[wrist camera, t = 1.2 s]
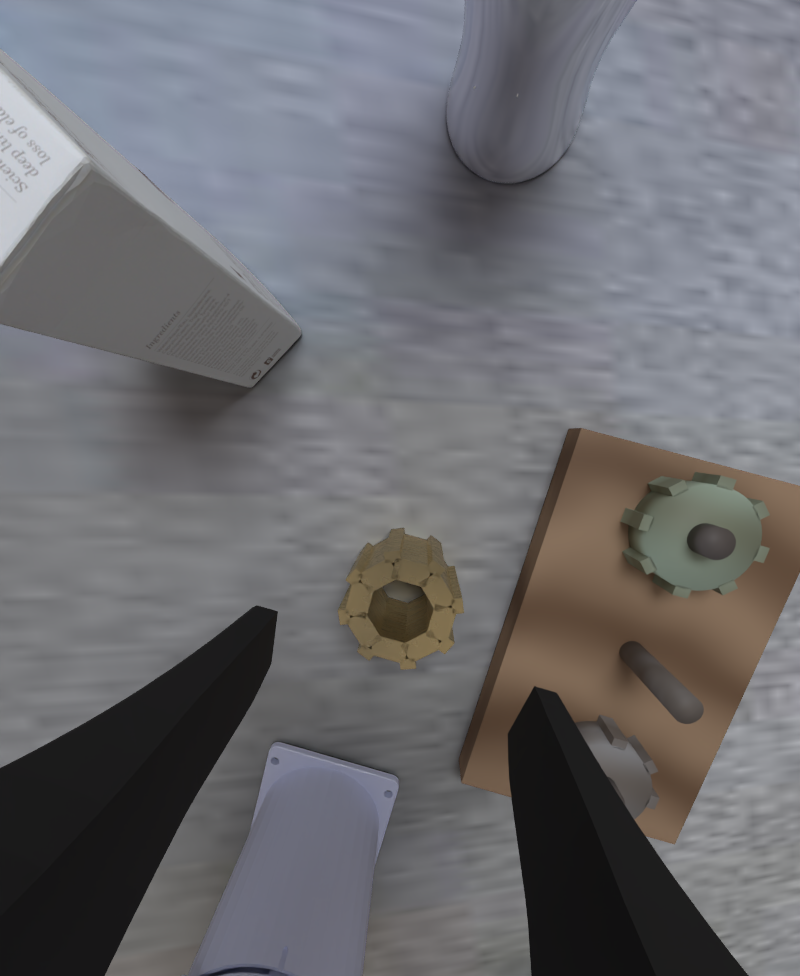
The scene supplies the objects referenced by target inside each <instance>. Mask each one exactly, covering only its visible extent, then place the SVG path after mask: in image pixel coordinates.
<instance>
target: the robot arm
mask: <svg viewBox="0 0 800 976" xmlns="http://www.w3.org/2000/svg"><path fill="white" fill-rule="evenodd" d="M277 614H278V611H274V610H271V609H267V608H264V607H260V606H255V607H252V608H251V609H250V610H249V611H248V612H246V613H245V614H244V615H243V616H241V617H240V618H239V619H238V620H236V621H235V622H234V623H233V624H231V625H230V626H229V627H228V628H226V629H225V630H224V631H222V632H221V633H220V634H218V635H217V636H216V637H215V638H213V639H212V640H211V641H209V642H208V643H207V644H205V645H204V646H202V647H201V648H200V649H198V650H197V651H196V652H194V653H193V654H191V655H190V656H189V657H187V658H186V659H185V660H183V661H182V662H180V663H179V664H178V665H176V666H175V667H173V668H172V669H170V670H169V671H167V672H166V673H164V674H163V675H161V676H160V677H158V678H157V679H155V680H154V681H152V682H151V683H149V684H148V685H146V686H145V687H143V688H142V689H140V690H139V691H137V692H135V693H134V694H132V695H131V696H129V697H128V698H126V699H124V700H123V701H121V702H119V703H118V704H116V705H115V706H113V707H111V708H110V709H108V710H106V711H105V712H103V713H101V714H99V715H98V716H96V717H94V718H93V719H91V720H89V721H87V722H86V723H84V724H82V725H80V726H79V727H77V728H75V729H73V730H71V731H70V732H68V733H66V734H64V735H62V736H60V737H59V738H57V739H55V740H53V741H51V742H49V743H48V744H46V745H44V746H42V747H40V748H38V749H37V750H35V751H33V752H31V753H29V754H27V755H25V756H23V757H21V758H19V759H17V760H15V761H13V762H11V763H10V764H8V765H6V766H3V767H1V768H0V976H105V973H106V971H107V969H108V967H109V965H110V963H111V961H112V959H113V957H114V955H115V953H116V951H117V949H118V947H119V945H120V943H121V941H122V939H123V936H124V934H125V932H126V930H127V928H128V926H129V924H130V922H131V920H132V918H133V916H134V914H135V912H136V910H137V908H138V906H139V904H140V902H141V900H142V898H143V896H144V894H145V892H146V890H147V888H148V886H149V884H150V882H151V880H152V878H153V876H154V874H155V872H156V870H157V868H158V866H159V864H160V862H161V861H162V859H163V857H164V855H165V853H166V851H167V849H168V847H169V845H170V843H171V841H172V839H173V837H174V835H175V833H176V831H177V829H178V828H179V826H180V824H181V822H182V820H183V818H184V816H185V814H186V812H187V811H188V809H189V807H190V805H191V804H192V802H193V800H194V798H195V796H196V795H197V793H198V791H199V790H200V788H201V786H202V785H203V783H204V781H205V780H206V778H207V777H208V775H209V773H210V772H211V770H212V768H213V767H214V765H215V763H216V762H217V760H218V758H219V757H220V755H221V754H222V752H223V750H224V749H225V747H226V745H227V744H228V742H229V740H230V739H231V737H232V736H233V734H234V732H235V731H236V729H237V727H238V726H239V724H240V722H241V721H242V719H243V717H244V716H245V714H246V712H247V711H248V709H249V707H250V706H251V704H252V702H253V700H254V698H255V696H256V694H257V692H258V690H259V688H260V686H261V684H262V682H263V680H264V678H265V676H266V674H267V671H268V669H269V667H270V665H271V661H272V653H273V645H274V637H275V629H276V621H277ZM274 757H275V758H278V759H275V758H274ZM508 766H509V782H510V790H511V797H512V805H513V812H514V820H515V827H516V834H517V841H518V848H519V855H520V862H521V870H522V877H523V884H524V891H525V899H526V908H527V917H528V928H529V943H530V958H531V973H532V976H748V975H747V973H746V972H745V971H744V970H743V968H742V967H741V966H740V965H739V963H738V962H737V961H736V960H735V958H734V957H733V956H732V955H731V953H730V952H729V951H728V949H727V948H726V947H725V945H724V944H723V943H722V942H721V940H720V939H719V938H718V936H717V935H716V934H715V932H714V931H713V930H712V929H711V927H710V926H709V925H708V923H707V922H706V921H705V919H704V918H703V916H702V915H701V914H700V912H699V911H698V910H697V908H696V907H695V906H694V904H693V903H692V902H691V900H690V899H689V897H688V896H687V895H686V893H685V892H684V891H683V889H682V888H681V887H680V885H679V884H678V882H677V881H676V880H675V878H674V877H673V876H672V874H671V873H670V871H669V870H668V868H667V867H666V866H665V864H664V863H663V861H662V860H661V859H660V857H659V856H658V854H657V853H656V851H655V850H654V848H653V847H652V845H651V844H650V842H649V841H648V839H647V838H646V836H645V835H644V833H643V832H642V830H641V829H640V827H639V826H638V824H637V823H636V821H635V820H634V818H633V817H632V815H631V814H630V812H629V811H628V809H627V808H626V806H625V805H624V803H623V801H622V800H621V798H620V797H619V795H618V794H617V792H616V790H615V789H614V787H613V786H612V784H611V782H610V781H609V779H608V778H607V776H606V774H605V773H604V771H603V769H602V768H601V766H600V764H599V763H598V761H597V760H596V758H595V756H594V755H593V753H592V751H591V750H590V748H589V746H588V744H587V743H586V741H585V739H584V738H583V736H582V734H581V733H580V731H579V729H578V728H577V726H576V724H575V722H574V721H573V719H572V717H571V716H570V714H569V712H568V711H567V709H566V707H565V705H564V704H563V702H562V700H561V699H560V697H559V695H558V694H557V693H556V692H553V691H549V690H546V689H543V688H539V687H536V686H534V688H533V689H532V691H531V693H530V695H529V697H528V698H527V700H526V702H525V704H524V705H523V707H522V709H521V711H520V713H519V714H518V716H517V718H516V720H515V721H514V723H513V725H512V727H511V729H510V730H509V732H508ZM398 789H399V779H398V778H397V777H396V776H395V775H392V774H389V773H385V772H382V771H378V770H375V769H372V768H368V767H365V766H361V765H358V764H354V763H351V762H347V761H344V760H340V759H337V758H334V757H330V756H327V755H323V754H320V753H316V752H313V751H309V750H306V749H302V748H299V747H295V746H292V745H289V744H285V743H282V742H275V743H273V744H272V746H271V748H270V750H269V753H268V757H267V761H266V766H265V770H264V774H263V778H262V783H261V787H260V791H259V795H258V799H257V804H256V808H255V812H254V816H253V820H252V825H251V829H250V833H249V835H248V838H247V840H246V842H245V844H244V847H243V849H242V851H241V854H240V856H239V858H238V860H237V863H236V865H235V867H234V870H233V872H232V874H231V877H230V879H229V881H228V883H227V886H226V888H225V890H224V893H223V895H222V897H221V900H220V902H219V904H218V906H217V909H216V911H215V913H214V916H213V918H212V920H211V923H210V925H209V927H208V929H207V932H206V934H205V936H204V939H203V941H202V943H201V945H200V948H199V950H198V952H197V955H196V957H195V959H194V962H193V964H192V966H191V968H190V971H189V973H188V975H187V976H363V967H364V958H365V949H366V940H367V931H368V922H369V913H370V904H371V895H372V886H373V877H374V868H375V864H376V861H377V858H378V854H379V851H380V848H381V845H382V841H383V838H384V835H385V832H386V828H387V825H388V822H389V819H390V815H391V812H392V809H393V806H394V802H395V799H396V796H397V793H398ZM387 790H389V791H390V792H388V791H387ZM181 976H186V975H181Z"/></svg>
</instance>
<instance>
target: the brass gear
mask: <svg viewBox="0 0 800 976" xmlns="http://www.w3.org/2000/svg"><path fill="white" fill-rule="evenodd" d="M394 580H399V581H403V582H406V583H410V584H413V585H417V586H421V587H422V589H423V591H424V592H425V595H423V596H421V597H419V598H417V599H415V600H413V601H411V602H409V603H406V602H402V601H399V600H395V599H392V598H388V596H387V595H386V593H385V591H384V590H383V588H382V587H383V586H385V585H386V584H388V583H390V582H392V581H394ZM346 581H347V582H349V583H350V586H349V588H348V591H347V593H346V595H345V597H344V599H343V601H342V603H341V605H340V607H339V609H338V614H339V620H340V625H345V624H348V625H349V627H350V629H351V630H352V632H353V633H354V635H355V637H356V638H357V640H358V641H359V643H360V644H359V647H358V651H357V652H358V653H359V654H361V655H362V656H363V657H365V658H366V659H367V660H369V661H370V659H371V658H372V657H373V656H377V657H381V658H384V659H388V660H392V661H395V662H399V663H400V668H401V670H404V669H416V661H417V660H419V659H421V658H423V657H425V656H427V655H429V654H431V653H433V652H435V651H437V650H440V651H441V652H442V653H444V654H445V653H446V652H447V651H448V650H449V649H450V648H451V647H452V645H453V644H454V637H453V630H452V625H453V622H454V619H455V616H456V614H459V613H464V609H463V601H462V595H461V591H460V587H459V583H458V579H457V575H456V571H455V566H450V567H448V566H447V564H446V562H445V561H444V558H443V552H442V546H441V543H440V542H439V541H438V540H437V539H435V538H434V537H433V536H431V535H430V537H429V538H428V539H427V540H425V539H421V538H418V537H414V536H410V535H407V534H405V530H404V528H399V529H391V532H390V535H389V538H387V539H385V540H383V541H381V542H380V543H378V544H376V545H374V546H372V545H371V544H370V543H367V544H366V546H365V547H364V548H363V549H362V551H361V552H360V554H359V556H358V558H357V560H356V561H355V563H354V565H353V567H352V569H351V571H350V573H349V575H348V576H347V578H346Z"/></svg>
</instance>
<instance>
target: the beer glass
mask: <svg viewBox="0 0 800 976" xmlns="http://www.w3.org/2000/svg"><path fill="white" fill-rule="evenodd" d="M636 1H637V0H465V6H464V25H463V33H462V40H461V45H460V49H459V53H458V57H457V60H456V64H455V67H454V71H453V75H452V79H451V82H450V87H449V91H448V97H447V106H446V120H447V127H448V133H449V137H450V140H451V143H452V145H453V148H454V150H455V152H456V153H457V155H458V157H459V158H460V159H461V161H462V162H463V163H464V164H465V165H466V166H467V167H468V168H469V169H470V170H471V171H472V172H474V173H475V174H477V175H478V176H480V177H482V178H484V179H486V180H489V181H492V182H496V183H504V184H510V183H519V182H523V181H527V180H530V179H532V178H535V177H537V176H539V175H540V174H542V173H544V172H545V171H547V170H548V169H549V168H550V167H552V166H553V165H554V164H555V163H556V162H557V161H558V160H559V159H560V158H561V156H562V155H563V154H564V153H565V151H566V150H567V149H568V147H569V145H570V144H571V142H572V140H573V138H574V136H575V134H576V132H577V129H578V127H579V124H580V121H581V118H582V115H583V112H584V108H585V105H586V101H587V98H588V94H589V91H590V87H591V84H592V81H593V78H594V75H595V72H596V70H597V68H598V65H599V63H600V61H601V58H602V57H603V55H604V53H605V51H606V49H607V47H608V45H609V44H610V42H611V40H612V38H613V37H614V35H615V34H616V32H617V30H618V29H619V27H620V26H621V24H622V23H623V21H624V20H625V18H626V16H627V15H628V13H629V12H630V10H631V9H632V7H633V6H634V4H635V3H636Z"/></svg>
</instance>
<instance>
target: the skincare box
mask: <svg viewBox="0 0 800 976" xmlns="http://www.w3.org/2000/svg"><path fill="white" fill-rule="evenodd" d="M0 324H3V325H7V326H11V327H14V328H18V329H22V330H25V331H29V332H34V333H38V334H42V335H45V336H49V337H53V338H57V339H61V340H65V341H68V342H72V343H76V344H80V345H84V346H88V347H92V348H96V349H100V350H104V351H108V352H112V353H116V354H120V355H124V356H128V357H132V358H136V359H140V360H144V361H148V362H151V363H155V364H159V365H163V366H167V367H171V368H175V369H179V370H182V371H186V372H190V373H194V374H198V375H202V376H205V377H209V378H213V379H217V380H221V381H224V382H229V383H232V384H236V385H241V386H244V387H249V388H251V387H253V386H254V385H255V384H256V383H257V382H258V381H259V380H260V379H261V377H262V376H263V375H264V374H265V373H266V372H267V371H268V370H269V369H270V368H271V367H272V366H273V365H274V364H275V363H276V362H277V361H278V360H279V359H280V358H281V357H282V356H283V354H284V353H285V352H286V351H287V350H288V349H289V348H290V347H291V346H292V344H293V343H294V342H295V341H296V340H297V339H298V338H299V337H300V336H301V329H300V327H299V326H298V324H297V323H296V322H295V321H294V319H293V318H292V317H291V316H290V315H289V314H288V312H287V311H286V310H285V309H284V308H283V306H282V305H281V304H280V303H279V302H278V301H277V300H276V298H275V297H274V296H273V295H272V294H271V293H270V292H269V291H268V290H267V289H266V288H265V287H264V285H263V284H262V283H261V282H260V281H259V280H258V279H257V278H256V277H255V276H254V275H253V274H252V273H251V272H250V271H249V270H248V269H247V268H246V267H245V266H244V265H243V264H242V263H241V262H240V261H239V260H238V259H237V258H236V257H235V256H234V255H233V254H232V253H231V252H230V251H229V250H228V249H227V248H226V247H225V246H224V245H222V244H221V243H220V242H219V241H218V240H217V239H216V238H214V237H213V236H212V235H211V234H210V233H209V232H208V231H207V230H206V229H204V228H203V227H202V226H201V225H200V224H199V223H198V222H196V221H195V220H194V219H193V218H192V217H191V216H190V215H189V214H187V213H186V212H185V211H184V210H183V209H182V208H181V207H180V206H178V205H177V204H176V203H175V202H174V201H173V200H172V199H171V198H169V197H168V196H167V195H166V194H165V193H164V192H163V191H161V190H160V189H159V188H158V187H157V186H156V185H155V184H154V183H153V182H151V181H150V180H149V179H148V178H147V177H146V176H145V175H144V174H143V173H142V172H141V171H140V170H138V169H137V168H136V167H135V166H134V165H132V164H131V163H130V162H129V161H128V160H127V159H126V158H125V157H123V156H122V155H121V154H120V153H119V152H118V151H117V150H116V149H114V148H113V147H112V146H111V145H110V144H109V143H108V142H106V141H105V140H104V139H103V138H102V137H101V136H100V135H98V134H97V133H96V132H95V131H94V130H93V129H92V128H91V127H89V126H88V125H87V124H86V123H85V122H84V121H83V120H82V119H81V118H79V117H78V116H77V115H76V114H75V113H74V112H73V111H71V110H70V109H69V108H68V107H67V106H66V105H65V104H63V103H62V102H61V101H60V100H59V99H58V98H57V97H56V96H54V95H53V94H52V93H51V92H50V91H49V90H48V89H46V88H45V87H44V86H43V85H42V84H41V83H40V82H38V81H37V80H36V79H35V78H34V77H33V76H32V75H31V74H29V73H28V72H27V71H26V70H25V69H23V68H22V67H21V66H20V65H19V64H18V63H16V62H15V61H14V60H13V59H12V58H11V57H9V56H8V55H7V54H6V53H5V52H4V51H2V50H1V49H0Z"/></svg>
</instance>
